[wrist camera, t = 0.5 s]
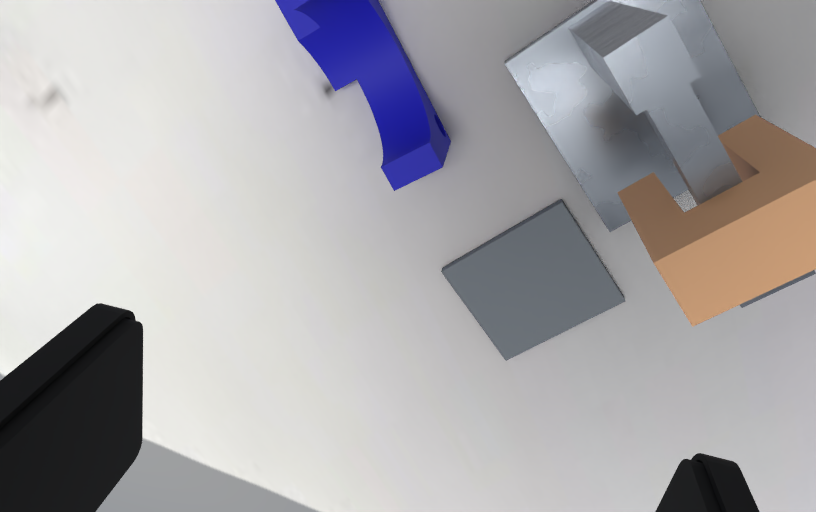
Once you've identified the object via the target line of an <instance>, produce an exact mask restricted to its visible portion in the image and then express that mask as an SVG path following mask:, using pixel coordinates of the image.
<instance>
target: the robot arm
mask: <svg viewBox="0 0 816 512" xmlns="http://www.w3.org/2000/svg"><path fill="white" fill-rule="evenodd" d="M142 401H143V326H142V324H141V323H140V322H138V321H135V316H134V314H133V312H131V311H129V310H125V309H121V308H117V307H113V306H109V305H105V304H96V305H94V306H92V307H91V308H90V309H89V310H87V311H86V312H85V313H84V314H82V315H81V316H80V317H79V318H77V319H76V320H75V321H74V322H72V323H71V324H70V325H69V326H68V327H66V328H65V329H64V330H63V331H61V332H60V333H59V334H58V335H56V336H55V337H54V338H53V339H51V340H50V341H49V342H48V343H46V344H45V345H44V346H43V347H42V348H40V349H39V350H38V351H37V352H35V353H34V354H33V355H32V356H30V357H29V358H28V359H27V360H25V361H24V362H23V363H22V364H20V365H19V366H18V367H17V368H16V369H14V370H13V371H12V372H10V373H9V374H8V375H7V376H5V377H4V378H3V379H2V380H1V381H0V512H96V510H97V509H98V508H99V506H100V505H101V504H102V502H103V501H104V500H105V498H106V497H107V496H108V494H109V493H110V492H111V491H112V489H113V488H114V487H115V485H116V484H117V483H118V482H119V480H120V479H121V478H122V476H123V475H124V474H125V472H126V471H127V470H128V469H129V467H130V466H131V465H132V463H133V462H134V460H135V459H136V457H137V455H138V453H139V450H140V448H141V444H142ZM656 512H759V510H758V508H757V505H756V503H755V501H754V499H753V496H752V494H751V492H750V490H749V487H748V485H747V483H746V481H745V479H744V476H743V474H742V472H741V470H740V468H739V466H738V465H737V464H736V463H735V462H733V461H729V460H725V459H721V458H717V457H713V456H709V455H705V454H701V453H699V454H696V455H695V456H693V458H692V459H691V460H688V459H684V460H682V461H681V462H680V464H679V466H678V468H677V470H676V472H675V474H674V476H673V478H672V480H671V482H670V484H669V486H668V488H667V490H666V492H665V494H664V496H663V498H662V500H661V502H660V504H659V506H658V508H657V510H656Z"/></svg>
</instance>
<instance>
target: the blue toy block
mask: <svg viewBox="0 0 816 512" xmlns="http://www.w3.org/2000/svg"><path fill="white" fill-rule="evenodd" d="M275 1H276V3H277V4H278V6H279V8H280V10H281V11H282V13H283V15H284V17H285V18H286V20H287V22H288V24H289V26H290V27H291V29H292V31H293V33H294V34H295V36H296V38H297V40H298V41H299V42H300V43H301V44H302V45H303V46H304V47H305V49H306V50H307V51H308V52H309V53H310V54H311V56H312V57H313V58H314V59H315V61H316V62H317V63H318V65H319V66H320V67H321V69H322V70H323V72H324V73H325V75H326V76H327V78H328V79H329V81H330V83H331V84H332V86H333V88H334V89H335V91H336V90H338V89H340V88H342V87H344V86H345V85H347V84H349V83H351V82H352V81H354V80H356V79H357V80H358V82H359V84H360V86H361V88H362V90H363V92H364V94H365V96H366V98H367V100H368V103H369V105H370V107H371V110H372V112H373V115H374V117H375V120H376V123H377V126H378V129H379V133H380V137H381V141H382V146H383V163H382V166H381V168H382V170H383V172H384V174H385V175H386V177H387V179H388V181H389V182H390V184H391V186H392V188H393V190H394V191H395V190H397V189H399V188H401V187H403V186H405V185H407V184H409V183H411V182H413V181H415V180H418V179H420V178H422V177H424V176H426V175H428V174H430V173H432V172H434V171H436V170H438V169H440V168H442V167H443V165H444V162H445V158H446V155H447V152H448V149H449V146H450V143H451V140H450V139H449V137H448V135H447V133H446V131H445V129H444V127H443V125H442V123H441V121H440V119H439V117H438V115H437V113H436V111H435V109H434V108H433V106H432V104H431V102H430V100H429V98H428V96H427V94H426V92H425V90H424V88H423V86H422V84H421V82H420V80H419V79H418V77H417V75H416V73H415V71H414V69H413V67H412V65H411V63H410V61H409V59H408V57H407V55H406V53H405V51H404V49H403V48H402V46H401V44H400V42H399V40H398V38H397V36H396V34H395V32H394V30H393V28H392V26H391V24H390V22H389V20H388V19H387V17H386V15H385V13H384V11H383V9H382V7H381V5H380V3H379V1H378V0H275Z"/></svg>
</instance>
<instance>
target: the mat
mask: <svg viewBox="0 0 816 512" xmlns="http://www.w3.org/2000/svg"><path fill="white" fill-rule="evenodd" d="M441 272H442V273H443V275H444V276H445V278H446V279H447V280H448V282H449V283H450V284H451V286H452V287H453V289H454V290H455V291H456V293H457V294H458V295H459V297H460V298H461V300H462V301H463V302H464V304H465V305H466V306H467V308H468V309H469V311H470V312H471V313H472V315H473V316H474V317H475V319H476V320H477V322H478V323H479V324H480V326H481V327H482V328H483V330H484V331H485V333H486V334H487V335H488V337H489V338H490V340H491V341H492V342H493V344H494V345H495V346H496V348H497V349H498V351H499V352H500V353H501V355H502V356H503V357H504V359H505V360H508V359H510V358H512V357H514V356H516V355H518V354H520V353H522V352H524V351H526V350H528V349H530V348H532V347H534V346H536V345H538V344H540V343H542V342H544V341H546V340H548V339H550V338H552V337H554V336H556V335H558V334H560V333H562V332H564V331H566V330H568V329H570V328H572V327H574V326H576V325H578V324H580V323H582V322H584V321H586V320H588V319H590V318H593V317H595V316H597V315H599V314H601V313H603V312H605V311H607V310H609V309H611V308H613V307H615V306H617V305H619V304H621V303H623V302H625V299H624V296H623V295H622V293H621V292H620V290H619V288H618V287H617V285H616V284H615V282H614V281H613V279H612V278H611V276H610V274H609V273H608V271H607V270H606V268H605V267H604V265H603V263H602V262H601V260H600V259H599V257H598V256H597V254H596V252H595V251H594V249H593V248H592V246H591V245H590V243H589V242H588V240H587V238H586V237H585V235H584V234H583V232H582V231H581V229H580V227H579V226H578V224H577V223H576V221H575V220H574V218H573V216H572V215H571V213H570V212H569V210H568V209H567V207H566V206H565V204H564V202H563V201H562V199H561V200H559V201H557V202H555V203H554V204H552V205H550V206H549V207H547V208H545V209H543V210H542V211H540V212H538V213H536V214H535V215H533V216H531V217H530V218H528V219H526V220H524V221H523V222H521V223H519V224H517V225H516V226H514V227H512V228H511V229H509V230H507V231H505V232H504V233H502V234H500V235H498V236H497V237H495V238H493V239H492V240H490V241H488V242H486V243H485V244H483V245H481V246H479V247H478V248H476V249H474V250H473V251H471V252H469V253H467V254H466V255H464V256H462V257H460V258H459V259H457V260H455V261H454V262H452V263H450V264H448V265H447V266H445V267H443V268H442V271H441Z"/></svg>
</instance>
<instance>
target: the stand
mask: <svg viewBox="0 0 816 512" xmlns="http://www.w3.org/2000/svg"><path fill="white" fill-rule="evenodd" d="M505 65H506V67H507V68H508V70H509V71H510V73H511V75H512V76H513V78H514V79H515V81H516V83H517V84H518V86H519V87H520V89H521V91H522V92H523V94H524V95H525V97H526V99H527V100H528V102H529V103H530V105H531V107H532V108H533V110H534V111H535V113H536V115H537V116H538V118H539V119H540V121H541V123H542V124H543V126H544V127H545V129H546V131H547V132H548V134H549V135H550V137H551V139H552V140H553V142H554V143H555V145H556V147H557V148H558V150H559V151H560V153H561V155H562V156H563V158H564V159H565V161H566V163H567V164H568V166H569V167H570V169H571V171H572V172H573V174H574V175H575V177H576V179H577V180H578V182H579V183H580V185H581V187H582V188H583V190H584V191H585V193H586V195H587V196H588V198H589V199H590V201H591V203H592V204H593V206H594V207H595V209H596V211H597V212H598V214H599V215H600V217H601V219H602V220H603V222H604V223H605V225H606V227H607V228H608V230H609V231H610V232H611V231H613V230H615V229H616V228H618V227H620V226H622V225H624V224H626V223H628V222H629V221H631V218H630V216H629V214H628V212H627V210H626V208H625V206H624V205H623V203H622V201H621V199H620V197H619V195H618V193H617V192H619V191H621V190H623V189H624V188H626V187H628V186H630V185H631V184H633V183H635V182H637V181H639V180H640V179H642V178H644V177H646V176H647V175H649V174H651V173H653V172H654V173H655V175H656V176H657V177H658V179H659V180H660V181H661V183H662V184H663V185H664V187H665V188H666V189H667V191H668V192H669V193H670V195H671V196H672V197H673V198H674V197H675V196H677V195H679V194H681V193H683V192H685V191H686V190H688V189H689V191H690V193H691V194H692V196H693V198H694V200H695V201H696V203H697V205H700V204H702V203H704V202H705V201H707V200H709V199H711V198H713V197H715V196H717V195H719V194H721V193H722V192H724V191H726V190H728V189H730V188H732V187H734V186H736V185H737V184H739V183H741V182H743V181H742V180H741V178H740V176H739V174H738V172H737V170H736V169H735V167H734V165H733V163H732V161H731V159H730V158H729V156H728V154H727V152H726V150H725V148H724V147H723V145H722V143H721V141H720V139H719V137H718V135H720V134H722V133H724V132H725V131H727V130H729V129H731V128H732V127H734V126H736V125H738V124H740V123H741V122H743V121H745V120H747V119H748V118H750V117H752V116H754V115H757V116H759V117H760V115H759V113H758V111H757V110H756V108H755V106H754V104H753V102H752V100H751V98H750V96H749V94H748V92H747V90H746V88H745V86H744V84H743V82H742V81H741V79H740V77H739V75H738V73H737V71H736V69H735V67H734V65H733V63H732V61H731V59H730V57H729V55H728V54H727V52H726V50H725V48H724V46H723V44H722V42H721V40H720V38H719V36H718V34H717V32H716V30H715V28H714V27H713V25H712V23H711V21H710V19H709V17H708V15H707V13H706V11H705V9H704V7H703V5H702V3H701V1H700V0H594V1H592V2H591V3H589V4H588V5H587V6H585V7H584V8H582V9H581V10H579V11H578V12H576V13H575V14H573V15H572V16H570V17H569V18H567V19H566V20H565V21H563V22H562V23H560V24H559V25H557V26H556V27H554V28H553V29H551V30H550V31H548V32H547V33H546V34H544V35H543V36H541V37H540V38H538V39H537V40H535V41H534V42H532V43H531V44H529V45H528V46H527V47H525V48H524V49H522V50H521V51H519V52H518V53H516V54H515V55H513V56H512V57H510V58H509V59H508V60H506V61H505ZM814 274H816V273H815V271H814V270H813V271H811V272H808V273H806V274H804V275H802V276H800V277H798V278H796V279H793V280H791V281H789V282H787V283H785V284H783V285H781V286H778V287H776V288H774V289H772V290H770V291H768V292H766V293H763V294H761V295H759V296H757V297H755V298H753V299H751V300H748V301H746V302H744V303H742V304H740V306H741V307H742V308H743V307H745V306H747V305H749V304H751V303H753V302H755V301H758V300H760V299H762V298H764V297H766V296H768V295H771V294H773V293H775V292H777V291H779V290H781V289H783V288H786V287H788V286H790V285H792V284H794V283H796V282H799V281H801V280H803V279H805V278H807V277H809V276H811V275H814Z"/></svg>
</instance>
